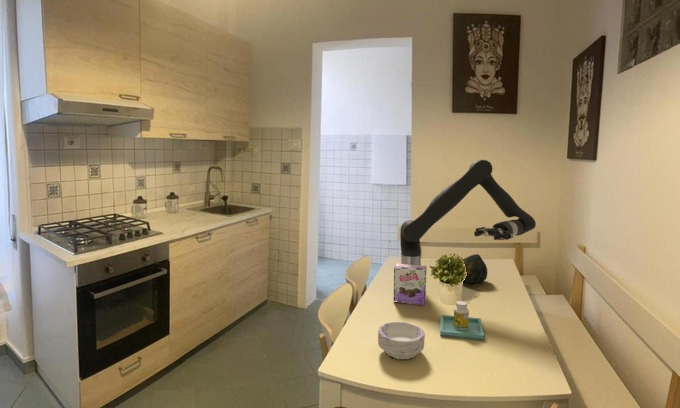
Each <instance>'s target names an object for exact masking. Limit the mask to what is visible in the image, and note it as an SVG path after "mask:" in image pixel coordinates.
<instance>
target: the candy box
mask: <svg viewBox="0 0 680 408" xmlns="http://www.w3.org/2000/svg"><path fill="white" fill-rule="evenodd" d="M393 268H394V269H393V302H394V301H397V302H404V303H411V304H410V305H414V304H419V305H418V306H426V303H425V302H427V300H426V299H427V297H426V296H427V295H426V293H427V271H428V270H427V265H422V264H421V265H407V264H401V263H395V265H394V267H393ZM404 303H403V304H404Z"/></svg>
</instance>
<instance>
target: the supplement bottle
mask: <svg viewBox="0 0 680 408" xmlns="http://www.w3.org/2000/svg"><path fill="white" fill-rule="evenodd" d="M469 315H470V310H469V308H468V302H466V301H463V300H457V301H456V302H455V307H453V316H454V327H455V328H456V329H459V330H466V329H468V326H469V317H470V316H469Z"/></svg>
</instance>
